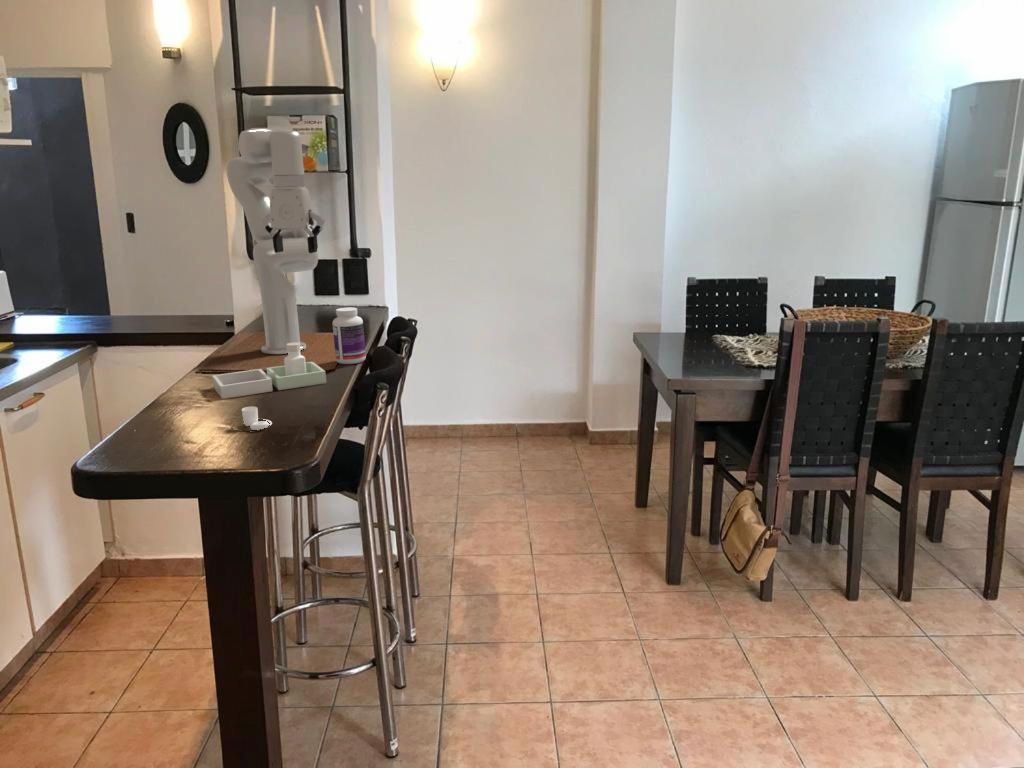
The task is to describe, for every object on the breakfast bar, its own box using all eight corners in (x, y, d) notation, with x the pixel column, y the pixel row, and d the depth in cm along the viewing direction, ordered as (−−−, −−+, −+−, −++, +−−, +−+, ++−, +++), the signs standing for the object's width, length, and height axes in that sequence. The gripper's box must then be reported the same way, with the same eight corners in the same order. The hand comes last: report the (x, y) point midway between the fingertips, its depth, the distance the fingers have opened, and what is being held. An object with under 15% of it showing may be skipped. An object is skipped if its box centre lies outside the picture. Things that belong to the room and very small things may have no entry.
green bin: (267, 379, 203) (266, 367, 202) (313, 372, 208) (312, 361, 207) (278, 390, 193) (277, 378, 192) (326, 383, 198) (325, 371, 198)
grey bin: (213, 387, 197) (212, 375, 196) (262, 380, 202) (260, 368, 201) (222, 398, 187) (220, 386, 186) (272, 391, 192) (271, 379, 192)
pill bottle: (372, 359, 221) (368, 307, 217) (354, 366, 214) (350, 312, 210) (347, 357, 224) (343, 305, 220) (329, 363, 217) (325, 310, 213)
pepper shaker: (308, 380, 201) (304, 343, 198) (294, 384, 198) (290, 346, 196) (299, 378, 204) (295, 341, 201) (285, 381, 201) (281, 344, 198)
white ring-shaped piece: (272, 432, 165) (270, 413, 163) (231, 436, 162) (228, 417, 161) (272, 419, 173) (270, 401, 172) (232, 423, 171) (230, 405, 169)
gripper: (250, 183, 200) (257, 253, 204) (312, 182, 195) (319, 254, 199) (267, 182, 207) (274, 250, 211) (328, 181, 202) (333, 250, 206)
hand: (296, 252), depth 205 cm, fingers open, 9 cm apart
